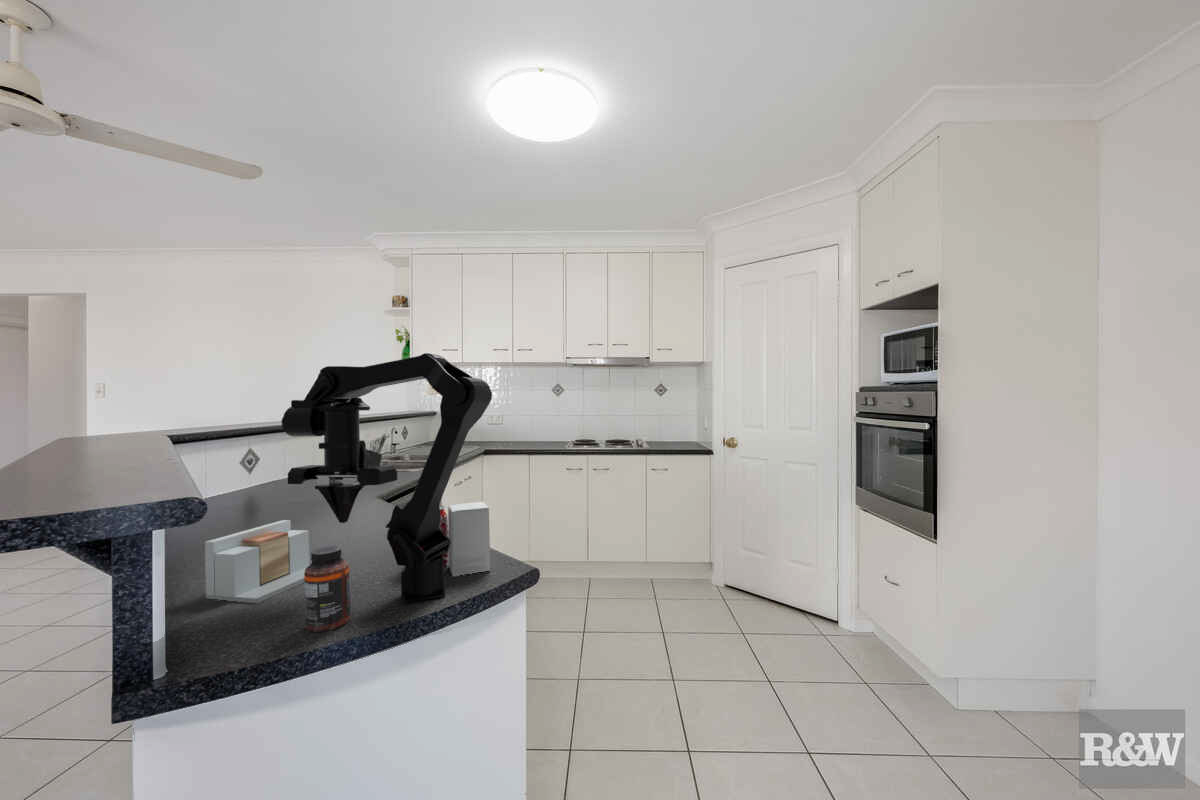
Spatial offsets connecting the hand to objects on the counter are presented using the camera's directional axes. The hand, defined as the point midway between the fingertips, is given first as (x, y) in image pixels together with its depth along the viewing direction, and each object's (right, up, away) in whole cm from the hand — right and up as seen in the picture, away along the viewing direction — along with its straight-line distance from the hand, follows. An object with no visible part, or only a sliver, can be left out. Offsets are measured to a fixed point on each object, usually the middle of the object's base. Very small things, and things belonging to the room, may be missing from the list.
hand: (343, 522), depth 88 cm
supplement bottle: (+5, -12, -14) cm, 20 cm away
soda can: (+12, -12, +11) cm, 20 cm away
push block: (-16, -11, +3) cm, 20 cm away
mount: (-15, -12, +3) cm, 20 cm away
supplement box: (+20, -12, +9) cm, 25 cm away
